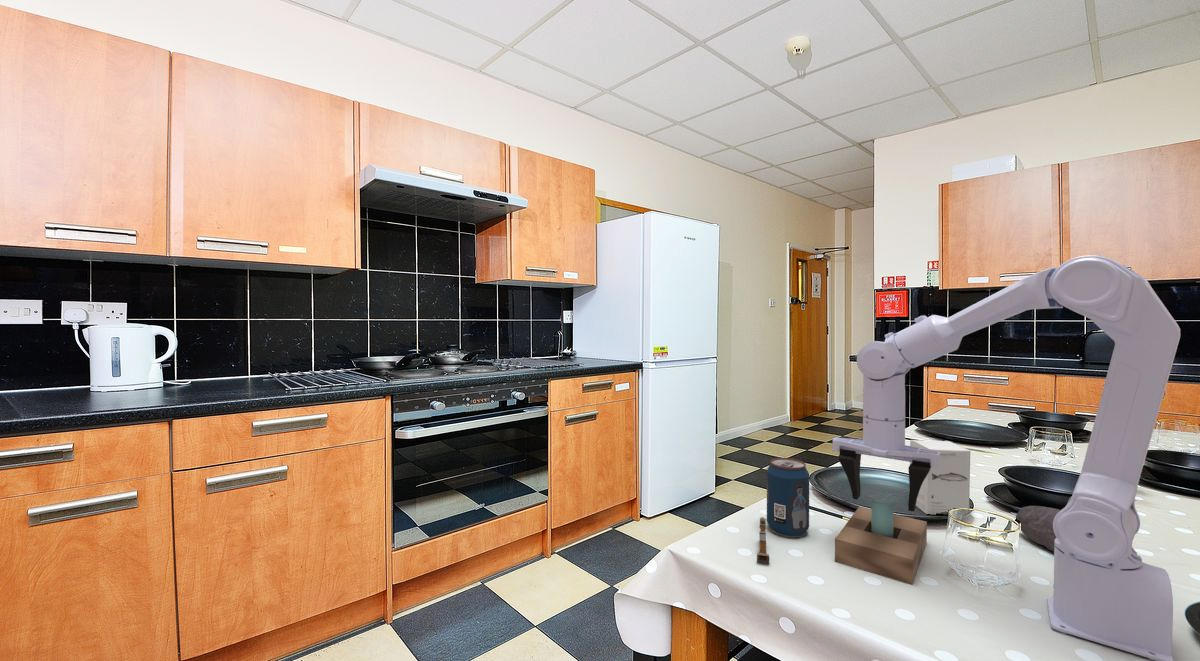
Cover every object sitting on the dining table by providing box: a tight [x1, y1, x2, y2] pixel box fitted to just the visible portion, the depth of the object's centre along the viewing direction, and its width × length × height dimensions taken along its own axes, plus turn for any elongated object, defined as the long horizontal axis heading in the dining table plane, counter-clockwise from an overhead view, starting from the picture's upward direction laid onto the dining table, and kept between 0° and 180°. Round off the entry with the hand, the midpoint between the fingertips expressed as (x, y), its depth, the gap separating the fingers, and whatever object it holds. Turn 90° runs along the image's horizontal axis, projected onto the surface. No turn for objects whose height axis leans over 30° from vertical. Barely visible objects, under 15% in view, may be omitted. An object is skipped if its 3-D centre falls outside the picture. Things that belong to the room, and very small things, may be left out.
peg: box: [871, 498, 895, 538], centre depth 76 cm, size 3×3×8 cm
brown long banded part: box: [756, 516, 770, 564], centre depth 76 cm, size 2×8×4 cm, turn 162°
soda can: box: [766, 457, 810, 539], centre depth 83 cm, size 7×7×12 cm
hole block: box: [834, 506, 928, 585], centre depth 76 cm, size 10×16×4 cm, turn 140°
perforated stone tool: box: [1015, 505, 1062, 553], centre depth 75 cm, size 15×5×7 cm, turn 6°
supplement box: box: [909, 439, 971, 515], centre depth 92 cm, size 7×7×13 cm
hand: (883, 503), depth 75 cm, fingers open, 7 cm apart
